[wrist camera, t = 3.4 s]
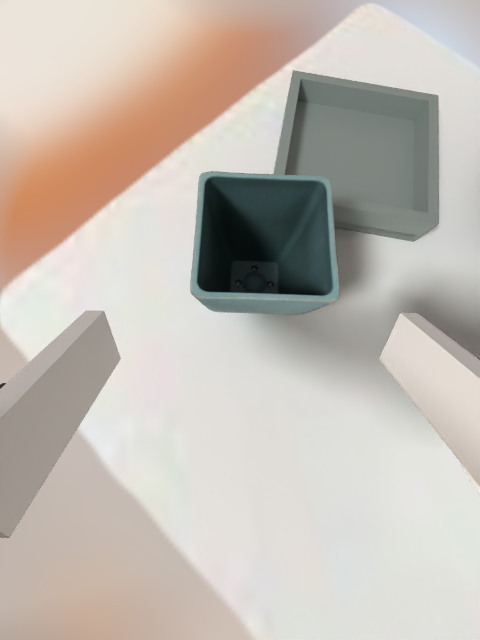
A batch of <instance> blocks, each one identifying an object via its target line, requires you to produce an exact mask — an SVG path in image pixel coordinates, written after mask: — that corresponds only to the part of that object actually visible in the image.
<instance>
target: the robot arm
mask: <svg viewBox="0 0 480 640" xmlns="http://www.w3.org/2000/svg"><path fill="white" fill-rule="evenodd" d="M120 359H121V358H120V355H119V352H118V349H117V347H116V344H115V341H114V338H113V335H112V332H111V329H110V327H109V324H108V321H107V318H106V315H105V312H104V311H85V312H84V313H83V314H82V315H81V316H80V317H79V318H77V319H76V320H75V321H74V322H73V323H72V324H71V325H70V326H69V327H68V328H67V329H65V330H64V331H63V332H62V333H61V334H60V335H59V336H58V337H57V338H56V339H54V340H53V341H52V342H51V343H50V344H49V345H48V346H47V347H46V348H45V349H44V350H42V351H41V352H40V353H39V354H38V355H37V356H36V357H35V358H34V359H33V360H31V361H30V362H29V363H28V364H27V365H26V366H25V367H24V368H23V369H22V370H21V371H19V372H18V373H17V374H16V375H15V376H14V377H13V378H12V379H11V380H10V381H9V382H8V383H3V384H1V385H0V538H10V536H11V535H12V533H13V531H14V530H15V528H16V527H17V525H18V523H19V522H20V520H21V519H22V517H23V515H24V514H25V512H26V511H27V509H28V507H29V506H30V504H31V502H32V501H33V499H34V498H35V496H36V494H37V493H38V491H39V489H40V488H41V486H42V485H43V483H44V481H45V480H46V478H47V477H48V475H49V473H50V472H51V470H52V469H53V467H54V465H55V464H56V462H57V460H58V459H59V457H60V456H61V454H62V452H63V451H64V449H65V448H66V446H67V444H68V443H69V441H70V440H71V438H72V436H73V435H74V433H75V431H76V430H77V428H78V427H79V425H80V423H81V422H82V420H83V419H84V417H85V415H86V414H87V412H88V411H89V409H90V407H91V406H92V404H93V402H94V401H95V399H96V398H97V396H98V394H99V393H100V391H101V390H102V388H103V386H104V385H105V383H106V381H107V380H108V378H109V377H110V375H111V373H112V372H113V370H114V369H115V367H116V365H117V364H118V362H119V361H120ZM379 359H380V361H381V362H382V363H383V365H384V366H385V367H386V368H387V370H388V371H389V372H390V373H391V375H392V376H393V377H394V379H395V380H396V381H397V382H398V384H399V385H400V386H401V387H402V389H403V390H404V391H405V393H406V394H407V395H408V396H409V398H410V399H411V400H412V401H413V403H414V404H415V405H416V406H417V408H418V409H419V410H420V412H421V413H422V414H423V415H424V417H425V418H426V419H427V420H428V422H429V423H430V424H431V426H432V427H433V428H434V429H435V431H436V432H437V433H438V434H439V436H440V437H441V438H442V440H443V441H444V442H445V443H446V445H447V446H448V447H449V448H450V450H451V451H452V452H453V454H454V455H455V456H456V457H457V459H458V460H459V461H460V462H461V464H462V465H463V466H464V467H465V469H466V470H467V471H468V473H469V474H470V475H471V476H472V478H473V479H474V480H475V481H476V483H477V484H478V485H479V487H480V360H479V359H477V358H476V357H475V356H473V355H472V354H471V353H469V352H468V351H467V350H465V349H464V348H463V347H461V346H460V345H459V344H458V343H456V342H455V341H454V340H452V339H451V338H450V337H448V336H447V335H446V334H444V333H443V332H442V331H440V330H439V329H438V328H436V327H435V326H434V325H432V324H431V323H430V322H428V321H427V320H426V319H424V318H423V317H422V316H420V315H419V314H418V313H400V315H399V317H398V319H397V321H396V323H395V326H394V328H393V330H392V332H391V334H390V336H389V339H388V341H387V343H386V345H385V347H384V349H383V351H382V354H381V356H380V358H379Z"/></svg>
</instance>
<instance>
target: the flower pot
mask: <svg viewBox="0 0 480 640" xmlns="http://www.w3.org/2000/svg"><path fill="white" fill-rule="evenodd" d="M332 191H333V190H332V184H331V182H330V179H329V178H328V177H324V176H308V175H276V174H244V173H229V172H214V171H211V172H205V173H202V174H201V175H200V177H199V183H198V200H197V214H196V226H195V238H194V250H193V261H192V271H191V281H190V291H191V294H192V295H193V296H194V297H195V298H197V299H198V300H199V301H200V302H201V303H202V304H203V305H204V306H206V307H207V308H208V309H210V310H212V311H215V312H233V313H264V314H290V315H297V314H304V313H307V312H310V311H313V310H315V309H318V308H320V307H323V306H325V305H328V304H330V303H333V302H335V301H337V300H338V299H339V296H340V286H339V274H338V264H337V255H336V243H335V228H334V215H333V194H332ZM253 267H256V268H257V271H253V270H252V268H253ZM237 281H239V282H241V285H240V286H237V285H236V282H237ZM269 282H271V283H273V286H272V287H269V286H268V283H269Z"/></svg>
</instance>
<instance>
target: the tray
mask: <svg viewBox="0 0 480 640" xmlns="http://www.w3.org/2000/svg"><path fill="white" fill-rule="evenodd" d="M274 174H276V175H308V176H324V177H328V178H329V179H330V182H331V184H332V190H333V191H332V194H333V215H334V227H336V228H341V229H347V230H353V231H358V232H364V233H369V234H375V235H380V236H386V237H391V238H397V239H402V240H408V241H413V242H414V241H415V240H417V239H418V238H420V237H421V236H422V235H424V234H425V233H427V232H428V231H430V230H431V229H432V228H434V227H435V226H437V225H438V224H439V157H438V95H433V94H427V93H421V92H415V91H410V90H404V89H398V88H392V87H386V86H381V85H375V84H369V83H363V82H357V81H352V80H346V79H340V78H334V77H328V76H323V75H317V74H311V73H305V72H299V71H294V70H293V73H292V78H291V83H290V88H289V93H288V98H287V103H286V109H285V114H284V120H283V125H282V130H281V136H280V141H279V147H278V152H277V158H276V163H275V169H274Z"/></svg>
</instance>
